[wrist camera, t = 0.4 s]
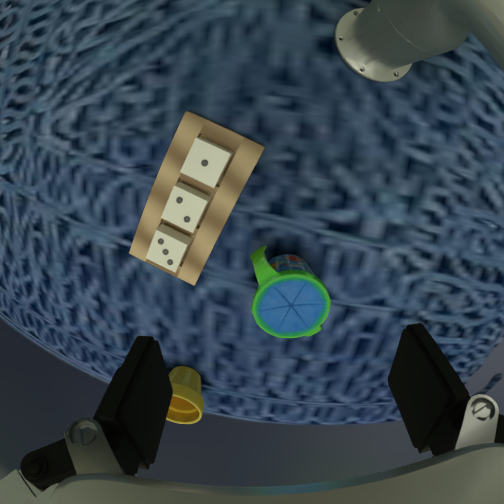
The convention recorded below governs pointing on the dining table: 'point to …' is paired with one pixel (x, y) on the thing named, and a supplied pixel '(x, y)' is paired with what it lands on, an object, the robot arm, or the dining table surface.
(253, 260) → the snack cup
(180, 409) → the plant pot
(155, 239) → the tile three
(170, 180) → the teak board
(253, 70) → the dining table surface
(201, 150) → the tile one
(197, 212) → the tile two
